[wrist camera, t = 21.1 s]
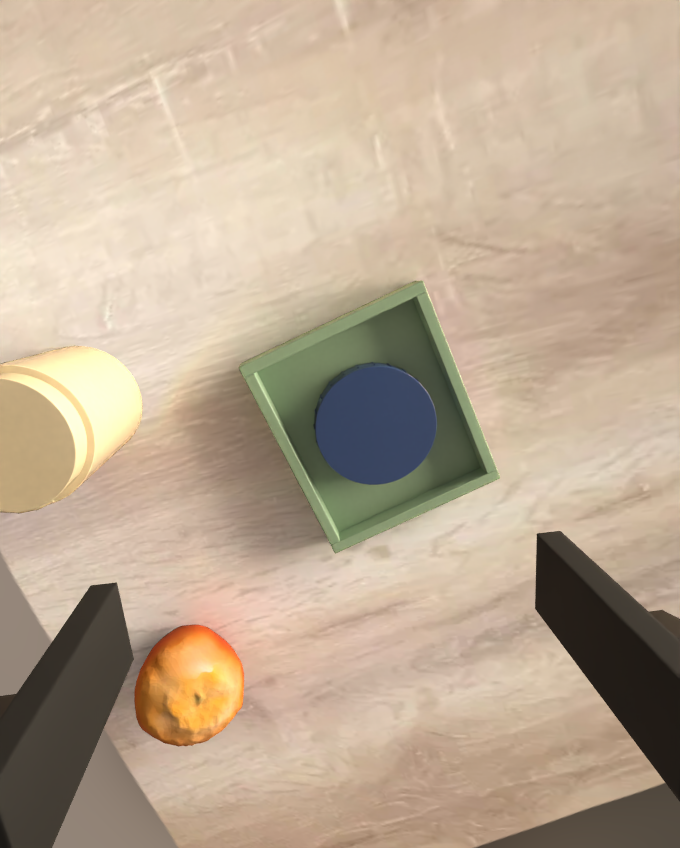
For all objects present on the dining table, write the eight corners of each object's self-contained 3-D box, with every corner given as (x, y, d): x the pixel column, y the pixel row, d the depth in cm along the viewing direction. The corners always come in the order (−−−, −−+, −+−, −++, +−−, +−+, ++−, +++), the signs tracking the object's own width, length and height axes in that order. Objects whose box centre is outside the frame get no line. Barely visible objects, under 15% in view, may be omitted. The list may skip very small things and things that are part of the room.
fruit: (103, 678, 40) (111, 718, 33) (178, 596, 44) (200, 618, 37) (176, 737, 42) (198, 787, 35) (242, 655, 46) (275, 686, 39)
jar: (0, 376, 35) (-119, 411, 25) (104, 326, 35) (26, 341, 25) (65, 474, 37) (-21, 543, 27) (163, 428, 37) (114, 480, 27)
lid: (454, 405, 38) (462, 411, 36) (384, 496, 39) (388, 507, 37) (359, 337, 36) (363, 340, 34) (290, 436, 37) (289, 443, 36)
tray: (241, 363, 36) (238, 367, 34) (415, 280, 36) (422, 280, 34) (333, 540, 41) (335, 554, 39) (490, 468, 40) (500, 478, 38)
